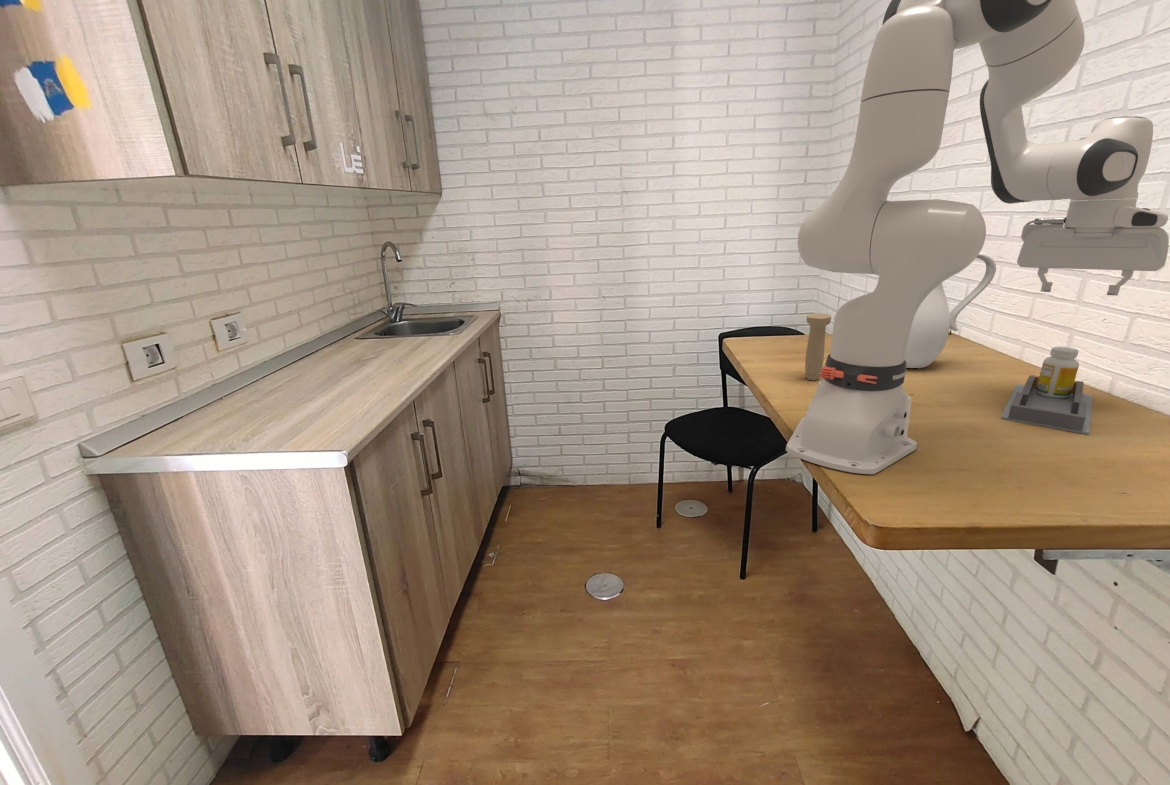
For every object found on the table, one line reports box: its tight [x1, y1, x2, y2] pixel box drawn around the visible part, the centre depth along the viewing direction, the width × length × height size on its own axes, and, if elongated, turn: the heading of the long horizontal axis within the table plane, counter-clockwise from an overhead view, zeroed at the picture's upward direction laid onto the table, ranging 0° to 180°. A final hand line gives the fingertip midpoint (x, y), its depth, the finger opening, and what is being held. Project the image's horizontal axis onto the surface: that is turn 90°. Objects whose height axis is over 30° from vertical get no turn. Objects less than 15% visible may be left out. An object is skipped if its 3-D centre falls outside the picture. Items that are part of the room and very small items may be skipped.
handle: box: [804, 312, 832, 381], centre depth 120 cm, size 5×6×15 cm
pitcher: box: [904, 251, 997, 369], centre depth 126 cm, size 24×17×28 cm
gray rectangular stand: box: [1000, 374, 1093, 436], centre depth 100 cm, size 24×12×3 cm, turn 137°
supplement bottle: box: [1036, 346, 1080, 399], centre depth 104 cm, size 5×5×10 cm
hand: (1077, 293), depth 99 cm, fingers open, 8 cm apart
